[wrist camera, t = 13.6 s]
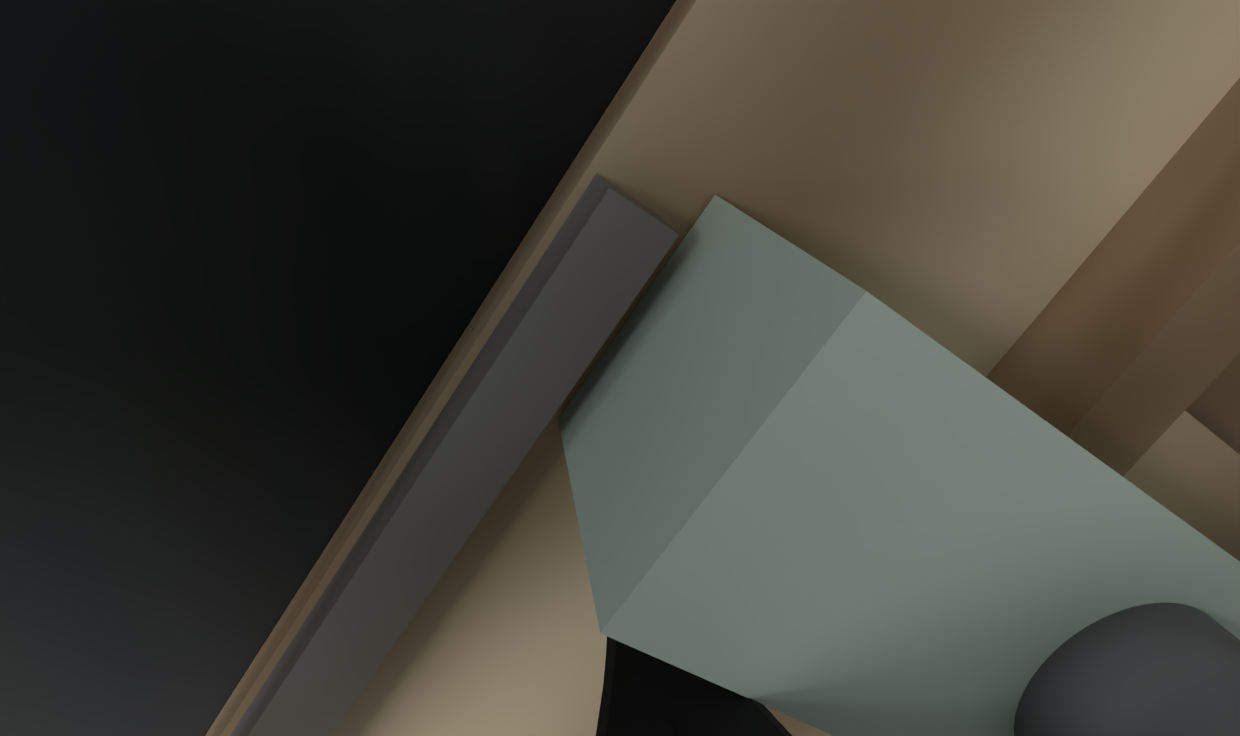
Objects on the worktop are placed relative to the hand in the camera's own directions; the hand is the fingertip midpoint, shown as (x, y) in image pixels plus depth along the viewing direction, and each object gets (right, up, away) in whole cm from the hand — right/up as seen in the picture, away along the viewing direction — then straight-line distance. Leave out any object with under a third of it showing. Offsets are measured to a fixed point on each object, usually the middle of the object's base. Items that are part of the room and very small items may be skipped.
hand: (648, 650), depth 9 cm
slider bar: (+3, +2, +1) cm, 4 cm away
